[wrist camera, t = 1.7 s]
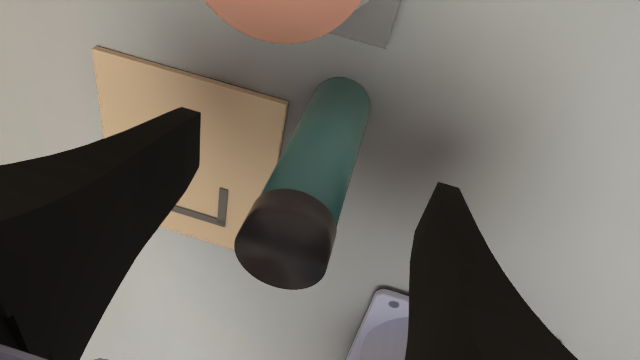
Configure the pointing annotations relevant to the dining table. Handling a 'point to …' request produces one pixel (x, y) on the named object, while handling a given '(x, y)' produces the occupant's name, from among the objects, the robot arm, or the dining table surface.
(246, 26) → the button
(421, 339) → the robot arm
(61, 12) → the dining table surface
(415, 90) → the dining table surface
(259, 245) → the bottle
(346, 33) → the button base
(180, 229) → the sketch pad
